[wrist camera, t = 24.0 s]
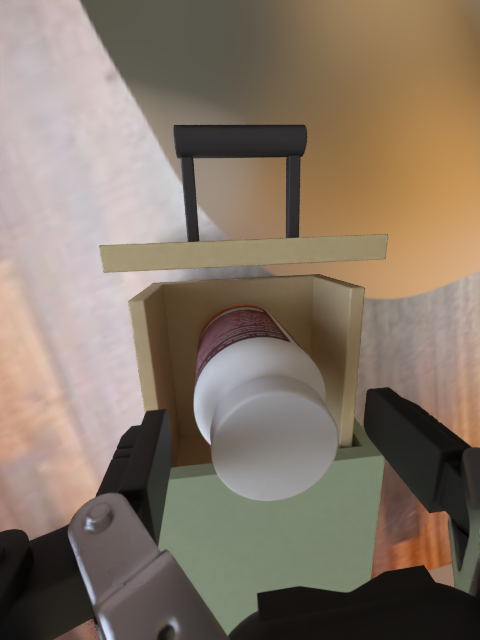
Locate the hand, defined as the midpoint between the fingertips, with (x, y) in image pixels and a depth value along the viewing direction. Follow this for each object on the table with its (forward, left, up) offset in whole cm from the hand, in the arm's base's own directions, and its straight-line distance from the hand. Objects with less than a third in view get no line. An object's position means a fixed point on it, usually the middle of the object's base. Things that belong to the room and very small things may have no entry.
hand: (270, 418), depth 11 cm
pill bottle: (0, 0, -10) cm, 10 cm away
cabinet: (+14, 0, -12) cm, 18 cm away
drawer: (-2, 0, -11) cm, 11 cm away
